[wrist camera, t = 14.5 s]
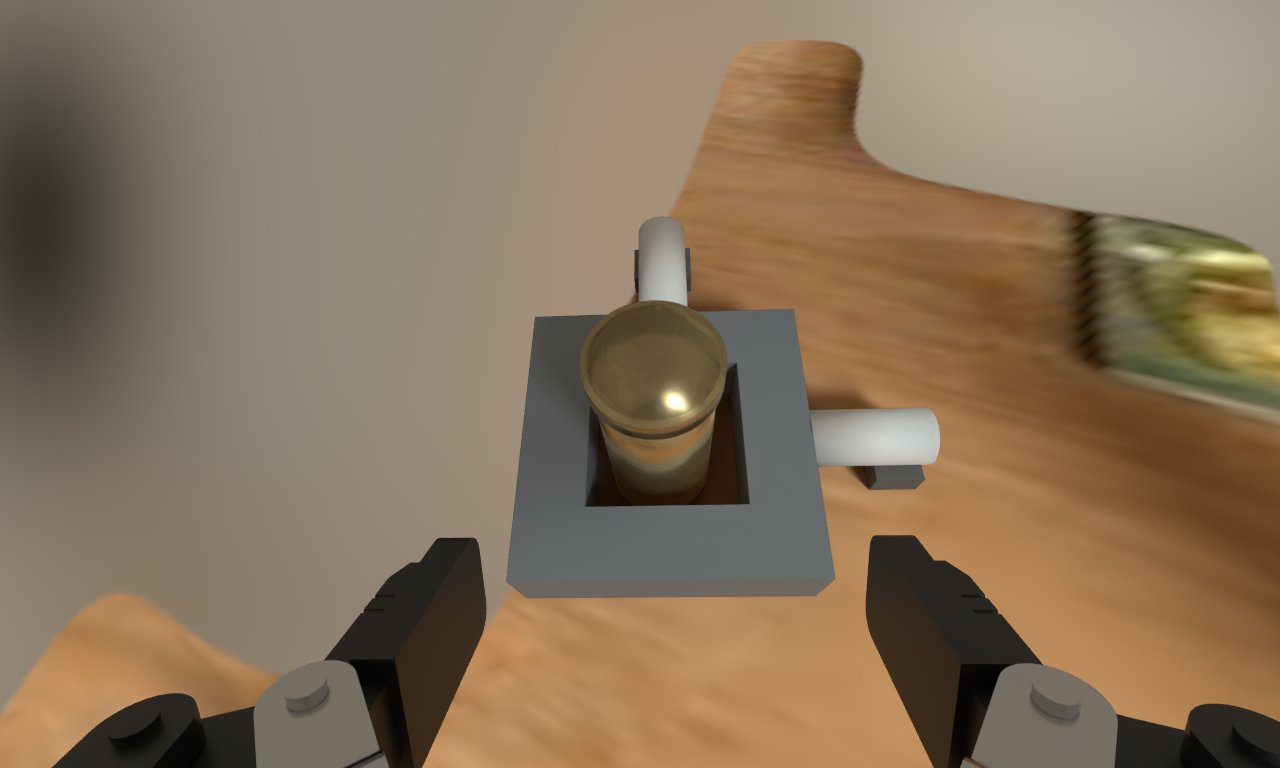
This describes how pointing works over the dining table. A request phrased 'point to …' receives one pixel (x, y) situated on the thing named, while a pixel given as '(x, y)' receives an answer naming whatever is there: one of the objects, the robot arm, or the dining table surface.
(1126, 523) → the dining table surface
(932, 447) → the shaft housing
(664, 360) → the gold cylindrical piece
